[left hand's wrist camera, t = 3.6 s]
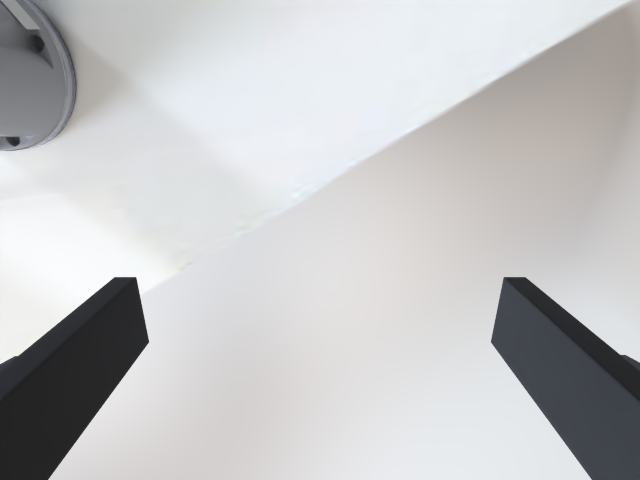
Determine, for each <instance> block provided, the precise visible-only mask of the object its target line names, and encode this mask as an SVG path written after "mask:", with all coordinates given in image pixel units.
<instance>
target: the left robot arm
mask: <svg viewBox="0 0 640 480" xmlns="http://www.w3.org/2000/svg"><path fill="white" fill-rule="evenodd" d="M75 94H76V85H75V75H74V69H73V65H72V61H71V59H70V56H69V53H68V50H67V48H66V46H65V44H64V42H63V40H62V38H61V36H60V34H59V33H58V31H57V30H56V28H55V27H54V25H53V24H52V23H51V21H50V20H49V19H48V18H47V16H46V15H45V14H44V13H43V12H42V11H41V10H40V9H39V8H38V7H37V6H36V5H35V4H34V3H33V2H32V1H31V0H0V151H14V150H21V149H28V148H33V147H37V146H40V145H42V144H45V143H46V142H48V141H50V140H51V139H53V138H54V137H55V136H57V135H58V134H59V133H60V132H61V130H62V129H63V128H64V127H65V125H66V124H67V122H68V120H69V118H70V116H71V113H72V110H73V107H74V102H75ZM148 343H149V339H148V334H147V329H146V324H145V319H144V314H143V309H142V304H141V299H140V294H139V289H138V284H137V279H136V277H114V278H113V279H112V280H111V281H110V282H108V283H107V284H106V285H105V286H103V287H102V288H101V289H100V290H99V291H97V292H96V293H95V294H94V295H92V296H91V297H90V298H89V299H88V300H86V301H85V302H84V303H83V304H81V305H80V306H79V307H78V308H77V309H75V310H74V311H73V312H72V313H70V314H69V315H68V316H67V317H66V318H64V319H63V320H62V321H61V322H59V323H58V324H57V325H56V326H55V327H53V328H52V329H51V330H50V331H48V332H47V333H46V334H45V335H44V336H42V337H41V338H40V339H39V340H37V341H36V342H35V343H34V344H33V345H31V346H30V347H29V348H28V349H26V350H25V351H24V352H23V353H22V354H20V355H19V356H15V357H13V358H11V359H9V360H7V361H5V362H4V363H2V364H0V480H48V479H49V478H50V476H51V475H52V474H53V472H54V471H55V469H56V468H57V467H58V465H59V464H60V463H61V461H62V460H63V459H64V457H65V456H66V454H67V453H68V452H69V450H70V449H71V448H72V446H73V445H74V443H75V442H76V441H77V440H78V438H79V437H80V435H81V434H82V433H83V431H84V430H85V429H86V427H87V426H88V425H89V423H90V422H91V420H92V419H93V418H94V416H95V415H96V414H97V412H98V411H99V409H100V408H101V407H102V405H103V404H104V403H105V401H106V400H107V399H108V397H109V396H110V395H111V393H112V392H113V390H114V389H115V388H116V386H117V385H118V384H119V382H120V381H121V380H122V378H123V377H124V376H125V374H126V373H127V371H128V370H129V369H130V367H131V366H132V364H133V363H134V362H135V361H136V359H137V358H138V356H139V355H140V354H141V352H142V351H143V350H144V348H145V347H146V346H147V344H148ZM491 343H492V344H493V346H494V347H495V348H496V350H497V351H498V352H499V354H500V355H501V356H502V358H503V359H504V361H505V362H506V363H507V365H508V366H509V367H510V369H511V370H512V371H513V373H514V374H515V375H516V377H517V378H518V380H519V381H520V382H521V384H522V385H523V386H524V388H525V389H526V390H527V392H528V393H529V395H530V396H531V397H532V399H533V400H534V401H535V403H536V404H537V405H538V407H539V408H540V410H541V411H542V412H543V414H544V415H545V416H546V418H547V419H548V420H549V422H550V423H551V425H552V426H553V427H554V429H555V430H556V431H557V433H558V434H559V435H560V437H561V438H562V439H563V441H564V442H565V444H566V445H567V446H568V448H569V449H570V450H571V452H572V453H573V454H574V456H575V457H576V459H577V460H578V461H579V463H580V464H581V465H582V467H583V468H584V469H585V471H586V472H587V474H588V475H589V476H590V478H591V479H592V480H640V363H639V362H637V361H636V360H634V359H632V358H630V357H628V356H626V355H620V354H618V353H617V352H616V351H615V350H614V349H612V348H611V347H610V346H609V345H607V344H606V343H605V342H604V341H603V340H601V339H600V338H599V337H598V336H596V335H595V334H594V333H593V332H591V331H590V330H589V329H588V328H587V327H585V326H584V325H583V324H582V323H581V322H579V321H578V320H577V319H576V318H574V317H573V316H572V315H571V314H570V313H568V312H567V311H566V310H565V309H563V308H562V307H561V306H560V305H559V304H557V303H556V302H555V301H554V300H552V299H551V298H550V297H549V296H547V295H546V294H545V293H544V292H543V291H541V290H540V289H539V288H538V287H537V286H535V285H534V284H533V283H532V282H530V281H529V280H528V279H527V278H525V277H504V279H503V284H502V289H501V294H500V299H499V304H498V309H497V314H496V319H495V324H494V329H493V334H492V339H491Z"/></svg>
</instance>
